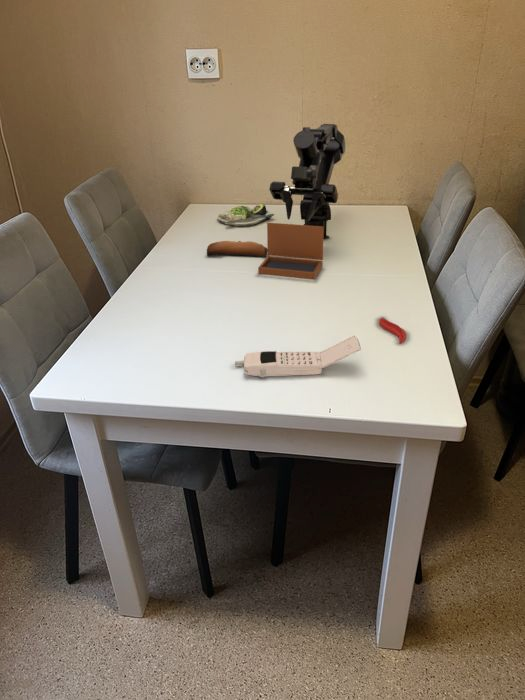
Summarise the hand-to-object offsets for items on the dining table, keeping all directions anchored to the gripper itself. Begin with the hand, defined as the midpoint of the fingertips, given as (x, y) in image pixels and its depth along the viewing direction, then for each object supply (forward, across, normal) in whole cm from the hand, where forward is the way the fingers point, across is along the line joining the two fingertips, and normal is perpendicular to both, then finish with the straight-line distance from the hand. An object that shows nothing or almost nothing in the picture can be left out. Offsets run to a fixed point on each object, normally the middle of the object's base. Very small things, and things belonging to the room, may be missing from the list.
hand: (298, 219), depth 156 cm
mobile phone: (+48, +15, -30) cm, 58 cm away
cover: (+6, 0, +1) cm, 6 cm away
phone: (+14, 0, +3) cm, 14 cm away
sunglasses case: (+8, -19, +10) cm, 23 cm away
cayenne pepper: (+33, +31, -15) cm, 48 cm away
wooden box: (+14, 0, +3) cm, 15 cm away
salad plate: (-15, -28, +33) cm, 46 cm away
